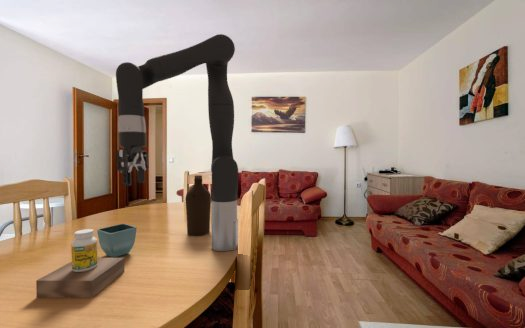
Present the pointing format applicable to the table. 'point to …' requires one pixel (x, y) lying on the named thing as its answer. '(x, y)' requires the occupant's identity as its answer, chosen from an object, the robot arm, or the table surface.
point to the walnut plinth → (79, 280)
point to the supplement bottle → (84, 251)
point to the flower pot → (117, 239)
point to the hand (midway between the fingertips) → (134, 183)
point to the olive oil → (198, 208)
